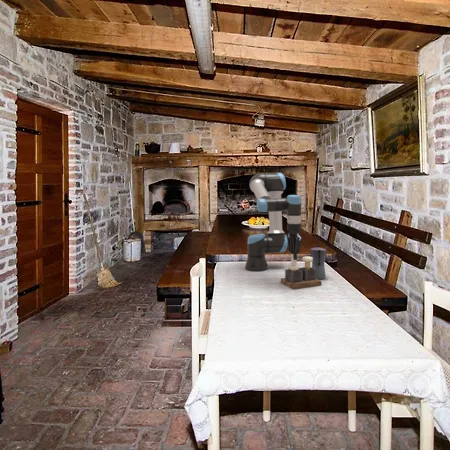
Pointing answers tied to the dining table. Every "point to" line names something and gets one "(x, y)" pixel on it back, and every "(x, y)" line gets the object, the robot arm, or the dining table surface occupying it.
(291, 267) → the plunger near
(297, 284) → the mount
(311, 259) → the plunger far
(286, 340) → the dining table surface
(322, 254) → the moka pot
